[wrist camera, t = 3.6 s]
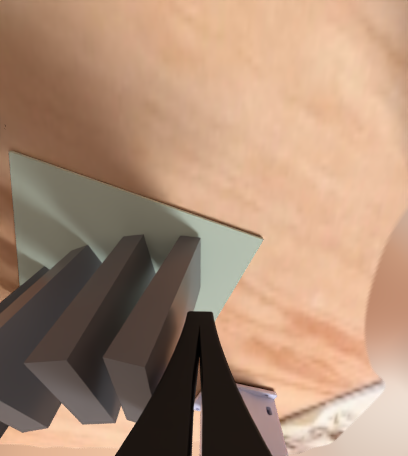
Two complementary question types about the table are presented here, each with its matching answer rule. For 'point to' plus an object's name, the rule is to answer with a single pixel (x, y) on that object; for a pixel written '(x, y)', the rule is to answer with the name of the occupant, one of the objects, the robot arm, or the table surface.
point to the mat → (116, 227)
